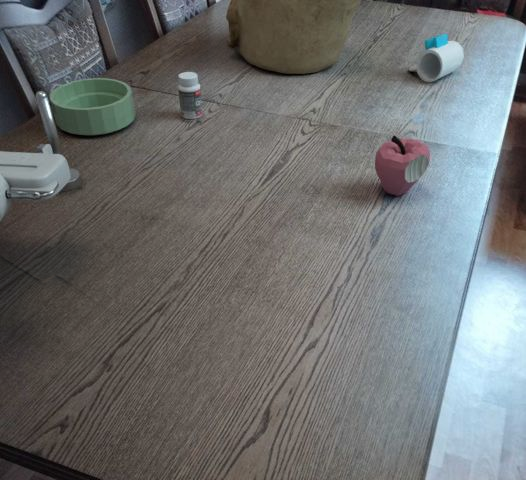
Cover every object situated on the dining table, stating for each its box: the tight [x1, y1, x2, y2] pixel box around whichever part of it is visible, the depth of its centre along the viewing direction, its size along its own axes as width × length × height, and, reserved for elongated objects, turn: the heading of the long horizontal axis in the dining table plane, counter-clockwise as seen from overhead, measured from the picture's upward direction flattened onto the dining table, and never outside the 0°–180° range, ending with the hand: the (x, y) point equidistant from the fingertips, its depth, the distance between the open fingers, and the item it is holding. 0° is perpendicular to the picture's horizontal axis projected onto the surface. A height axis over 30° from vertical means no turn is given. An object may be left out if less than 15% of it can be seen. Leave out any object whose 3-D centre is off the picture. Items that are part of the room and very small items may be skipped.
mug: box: [408, 33, 465, 83], centre depth 137 cm, size 12×9×12 cm
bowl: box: [49, 77, 136, 136], centre depth 117 cm, size 17×17×6 cm
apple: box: [374, 135, 431, 197], centre depth 96 cm, size 10×9×10 cm
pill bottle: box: [177, 71, 203, 120], centre depth 118 cm, size 5×5×8 cm
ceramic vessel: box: [225, 0, 363, 75], centre depth 139 cm, size 29×42×25 cm
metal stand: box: [35, 90, 82, 192], centre depth 95 cm, size 6×6×16 cm
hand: (17, 147), depth 83 cm, fingers open, 8 cm apart
